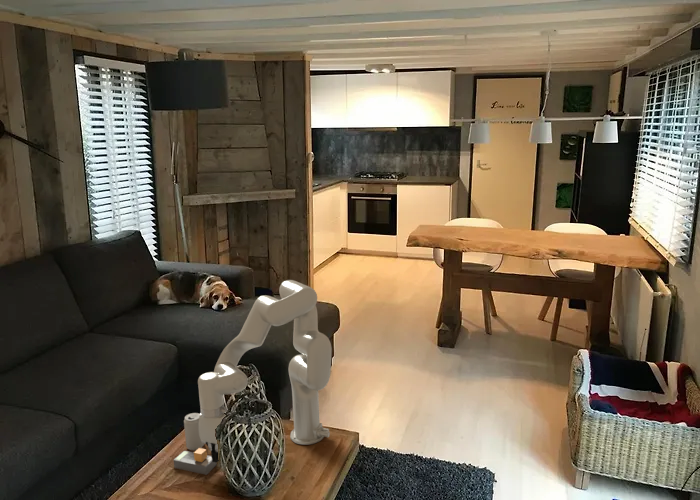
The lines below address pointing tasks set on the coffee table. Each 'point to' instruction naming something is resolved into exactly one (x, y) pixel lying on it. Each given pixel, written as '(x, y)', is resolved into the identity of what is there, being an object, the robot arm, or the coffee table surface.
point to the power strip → (193, 463)
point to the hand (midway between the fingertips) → (216, 459)
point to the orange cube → (200, 454)
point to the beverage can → (192, 431)
